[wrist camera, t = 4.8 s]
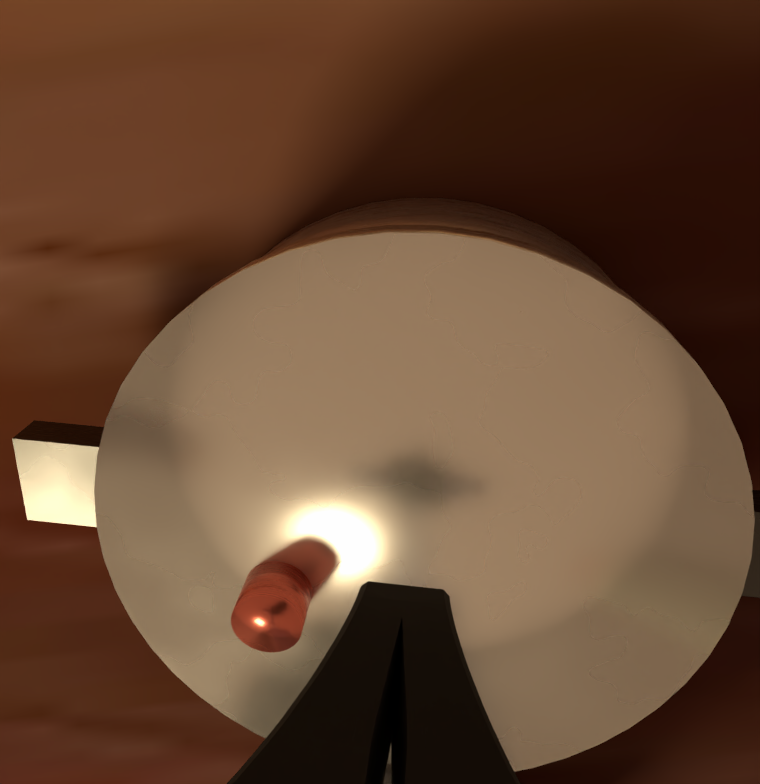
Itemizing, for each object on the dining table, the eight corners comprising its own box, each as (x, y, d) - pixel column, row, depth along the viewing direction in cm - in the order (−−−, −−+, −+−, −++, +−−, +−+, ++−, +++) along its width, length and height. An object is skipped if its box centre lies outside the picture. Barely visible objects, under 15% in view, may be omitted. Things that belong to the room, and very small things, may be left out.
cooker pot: (697, 665, 24) (753, 804, 19) (125, 600, 25) (53, 716, 21) (840, 226, 18) (973, 279, 13) (72, 171, 19) (-48, 201, 14)
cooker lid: (654, 794, 19) (675, 869, 18) (140, 730, 20) (109, 795, 19) (833, 254, 13) (894, 284, 11) (72, 197, 14) (14, 217, 12)
